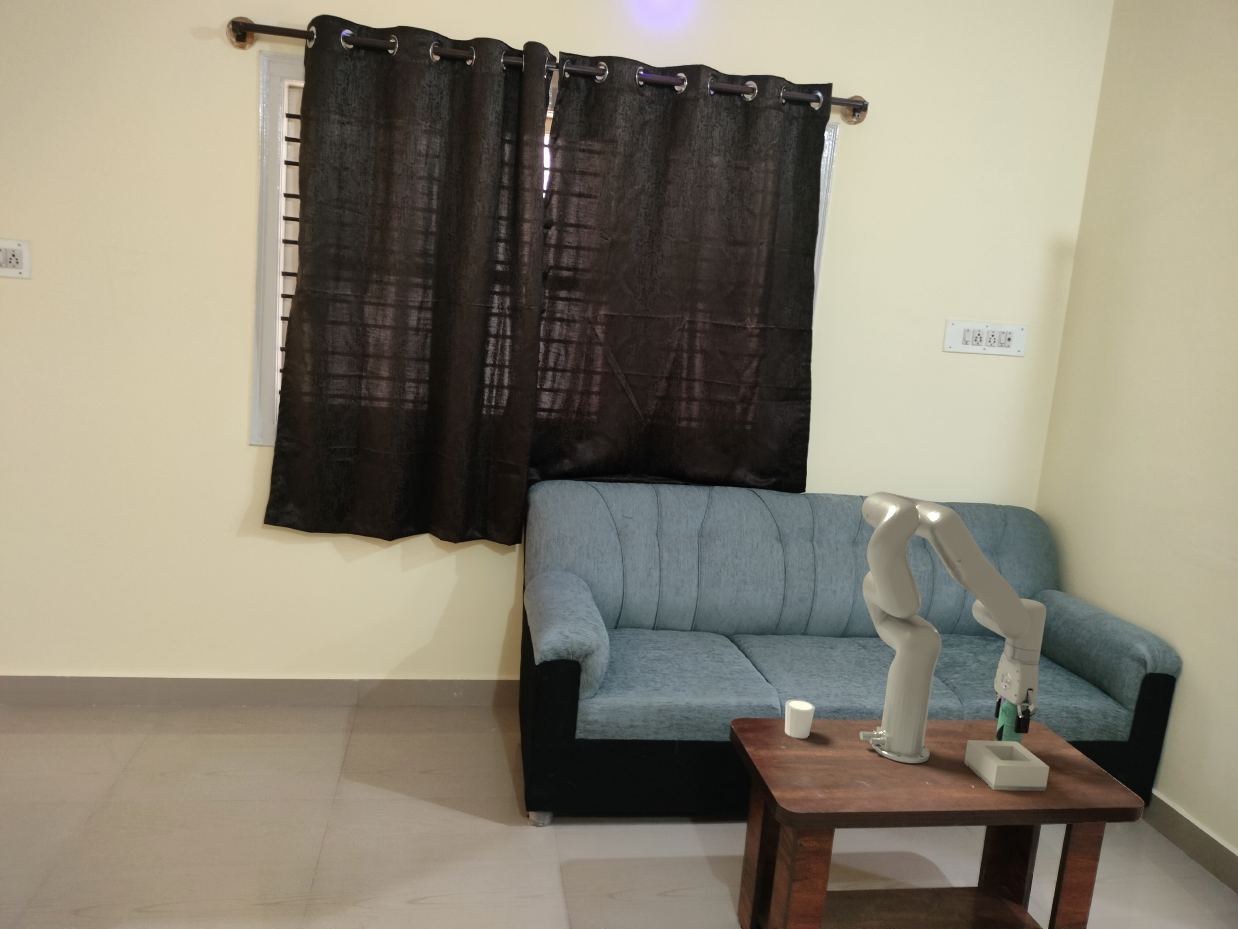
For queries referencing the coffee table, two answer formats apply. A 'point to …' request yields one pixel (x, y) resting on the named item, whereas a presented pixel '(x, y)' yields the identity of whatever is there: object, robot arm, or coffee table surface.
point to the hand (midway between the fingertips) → (1010, 724)
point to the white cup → (798, 718)
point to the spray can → (1008, 721)
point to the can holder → (1006, 765)
